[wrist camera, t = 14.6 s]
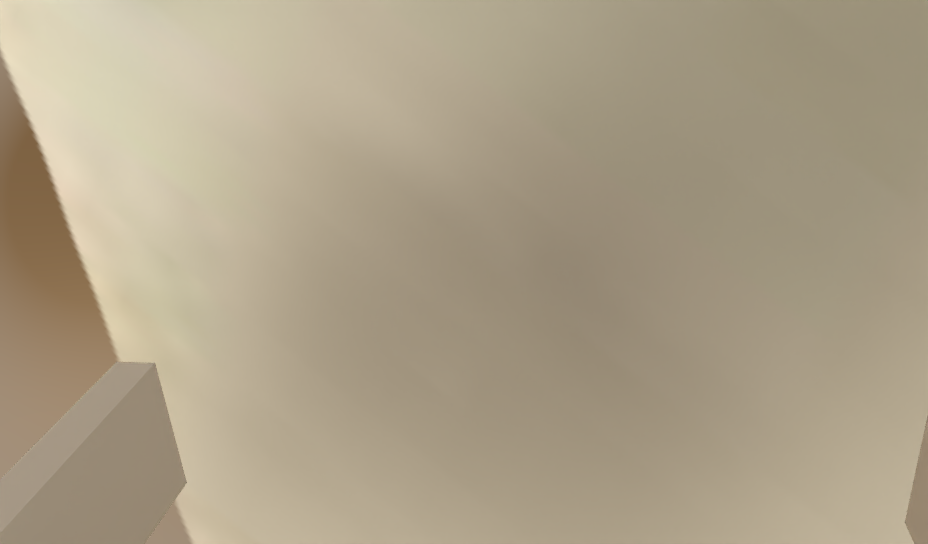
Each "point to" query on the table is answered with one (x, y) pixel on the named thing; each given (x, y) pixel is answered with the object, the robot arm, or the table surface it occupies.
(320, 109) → the table surface
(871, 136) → the table surface
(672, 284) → the table surface
